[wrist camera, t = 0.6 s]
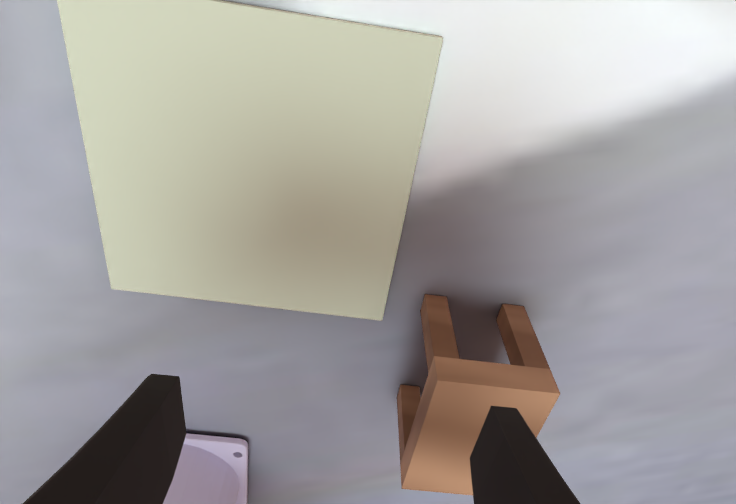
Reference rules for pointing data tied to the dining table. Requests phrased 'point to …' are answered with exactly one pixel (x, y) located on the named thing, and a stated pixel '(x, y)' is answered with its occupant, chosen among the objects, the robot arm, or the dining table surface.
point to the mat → (249, 148)
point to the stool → (466, 398)
